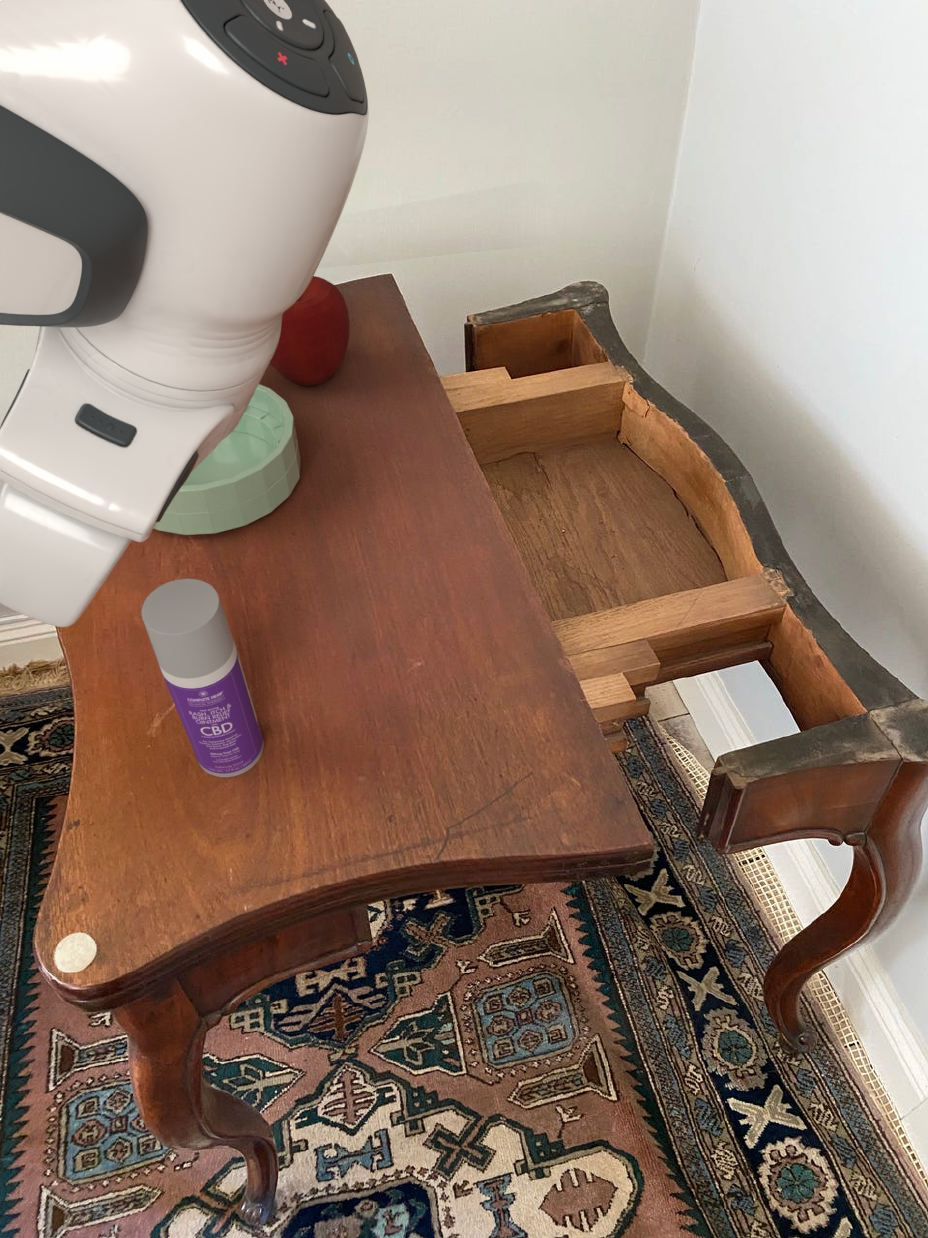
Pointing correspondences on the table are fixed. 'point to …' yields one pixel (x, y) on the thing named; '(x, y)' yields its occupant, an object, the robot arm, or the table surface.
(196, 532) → the bowl
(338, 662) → the table surface
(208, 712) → the container
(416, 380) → the table surface
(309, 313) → the apple
